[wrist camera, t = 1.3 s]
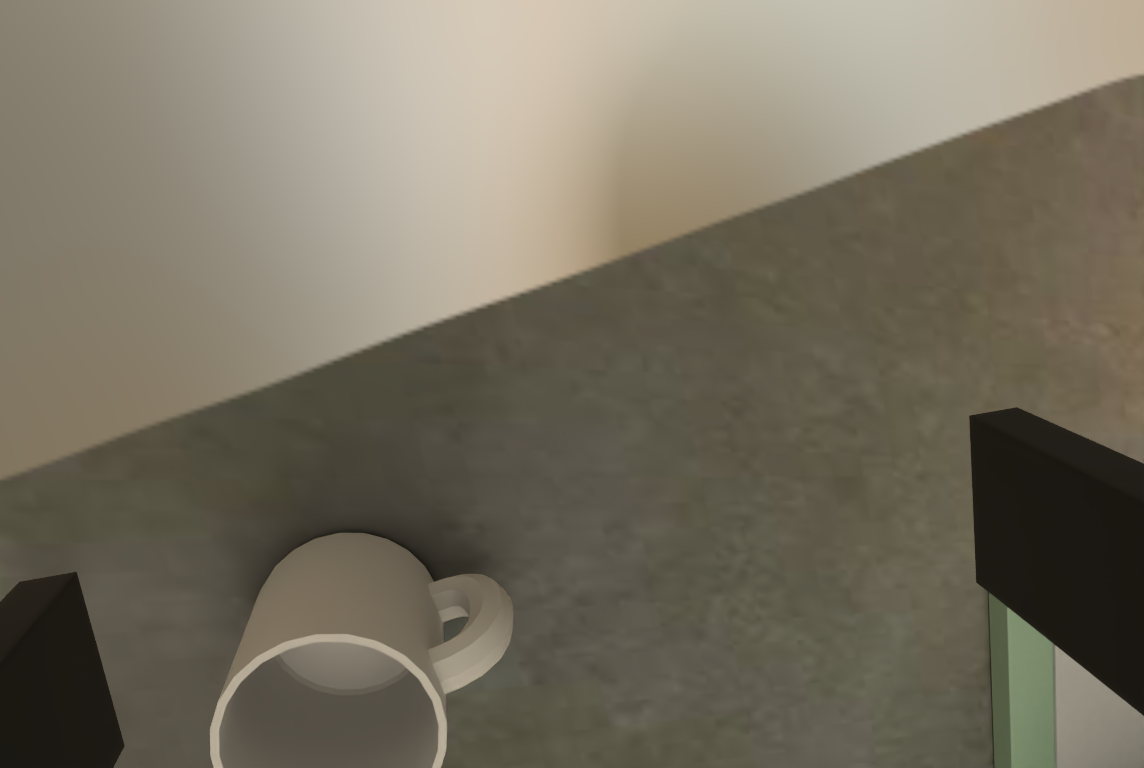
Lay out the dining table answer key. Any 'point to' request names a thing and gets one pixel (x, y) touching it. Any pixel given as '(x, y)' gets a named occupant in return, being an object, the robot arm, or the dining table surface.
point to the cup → (354, 659)
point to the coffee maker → (1054, 705)
